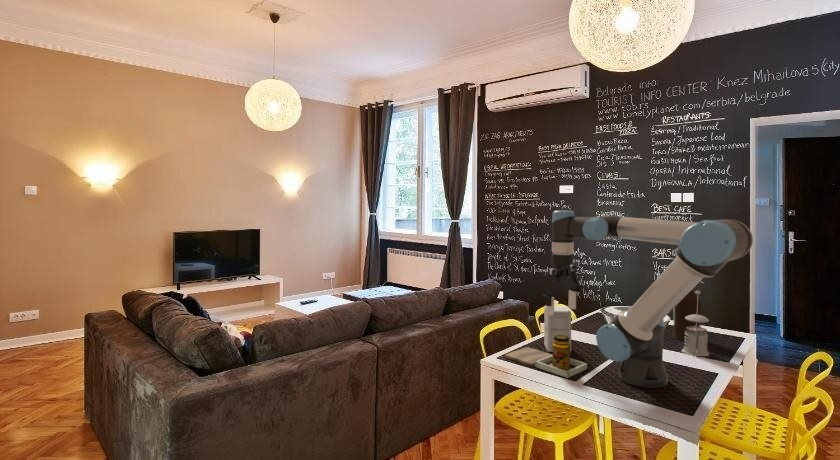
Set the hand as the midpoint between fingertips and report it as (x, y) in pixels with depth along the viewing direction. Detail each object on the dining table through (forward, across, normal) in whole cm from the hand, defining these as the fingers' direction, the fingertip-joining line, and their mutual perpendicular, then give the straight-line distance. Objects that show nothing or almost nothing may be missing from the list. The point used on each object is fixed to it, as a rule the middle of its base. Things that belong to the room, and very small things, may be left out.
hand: (561, 311), depth 166 cm
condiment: (+21, 0, 0) cm, 21 cm away
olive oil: (+21, -70, +16) cm, 75 cm away
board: (+21, 0, -14) cm, 25 cm away
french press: (+21, -53, +26) cm, 63 cm away
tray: (+21, 0, 0) cm, 21 cm away
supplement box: (+21, -16, -13) cm, 30 cm away
